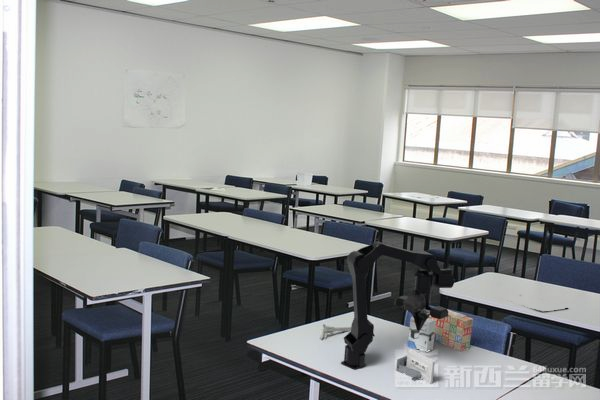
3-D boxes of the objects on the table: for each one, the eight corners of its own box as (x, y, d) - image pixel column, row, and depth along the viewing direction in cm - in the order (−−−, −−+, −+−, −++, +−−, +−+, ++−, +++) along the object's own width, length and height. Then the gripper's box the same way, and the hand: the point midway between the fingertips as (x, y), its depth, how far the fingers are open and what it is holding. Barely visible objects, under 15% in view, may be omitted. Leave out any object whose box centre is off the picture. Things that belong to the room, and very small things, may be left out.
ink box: (406, 346, 225) (410, 316, 223) (413, 343, 229) (416, 314, 227) (426, 353, 219) (429, 322, 218) (433, 350, 223) (436, 320, 221)
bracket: (393, 371, 200) (394, 360, 199) (407, 365, 206) (408, 355, 205) (415, 381, 193) (416, 369, 193) (429, 374, 199) (431, 363, 199)
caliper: (321, 341, 224) (323, 325, 223) (319, 340, 225) (320, 324, 224) (354, 330, 239) (355, 315, 238) (352, 329, 240) (353, 314, 239)
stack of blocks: (416, 333, 240) (419, 304, 239) (425, 331, 244) (429, 302, 243) (460, 351, 224) (464, 320, 223) (470, 348, 228) (473, 318, 227)
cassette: (404, 370, 202) (406, 348, 201) (408, 369, 203) (410, 348, 202) (429, 384, 192) (432, 362, 191) (433, 383, 193) (436, 361, 192)
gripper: (387, 284, 206) (383, 327, 208) (434, 298, 193) (429, 343, 195) (405, 280, 214) (401, 321, 216) (451, 293, 201) (446, 336, 203)
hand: (418, 330), depth 208 cm, fingers closed
